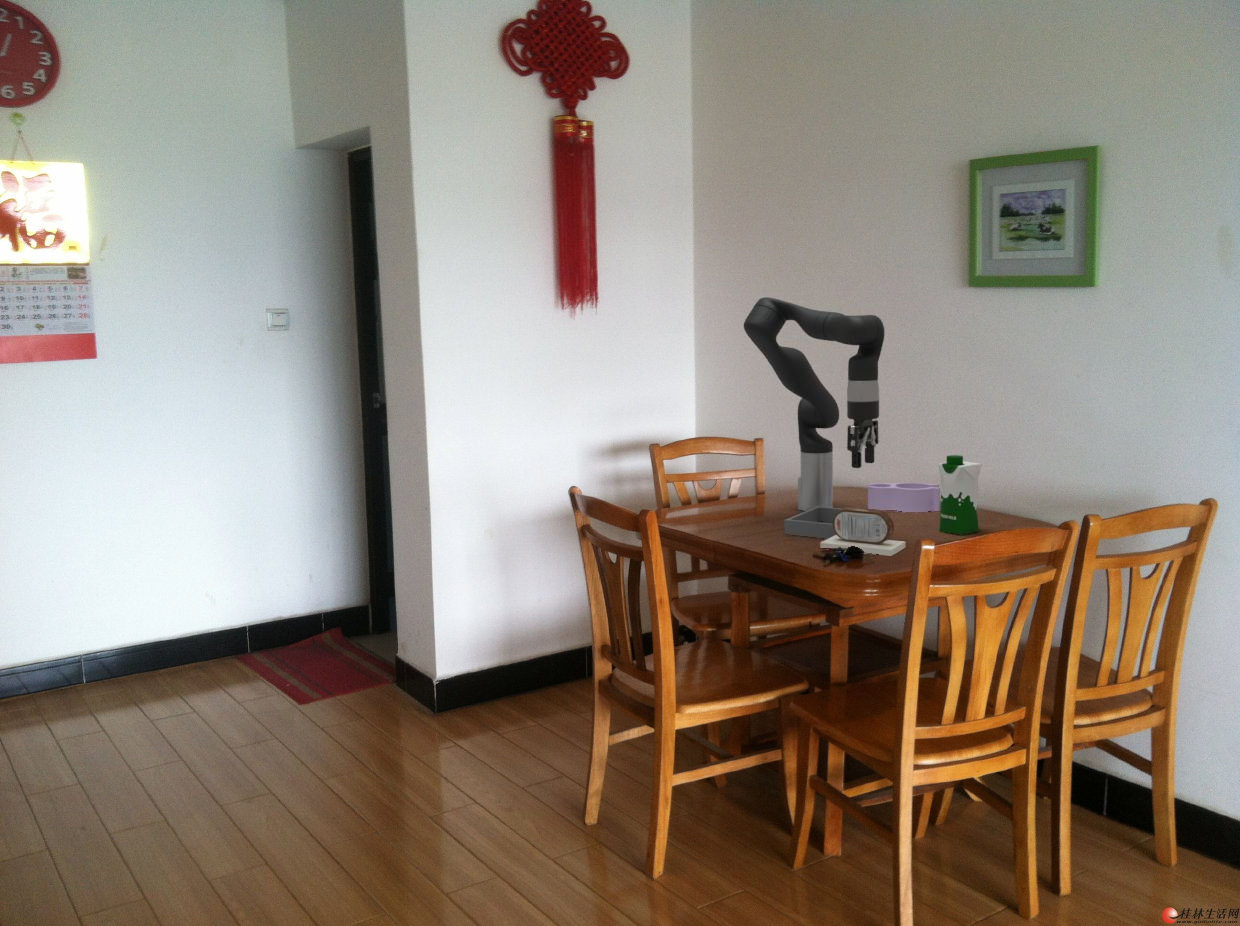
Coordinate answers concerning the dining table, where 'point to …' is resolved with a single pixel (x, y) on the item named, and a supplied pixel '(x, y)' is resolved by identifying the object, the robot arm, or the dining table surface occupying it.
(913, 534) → the dining table surface
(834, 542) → the cream board
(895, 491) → the clip
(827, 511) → the bin
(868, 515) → the tin
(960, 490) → the milk carton
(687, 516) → the dining table surface
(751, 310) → the robot arm
